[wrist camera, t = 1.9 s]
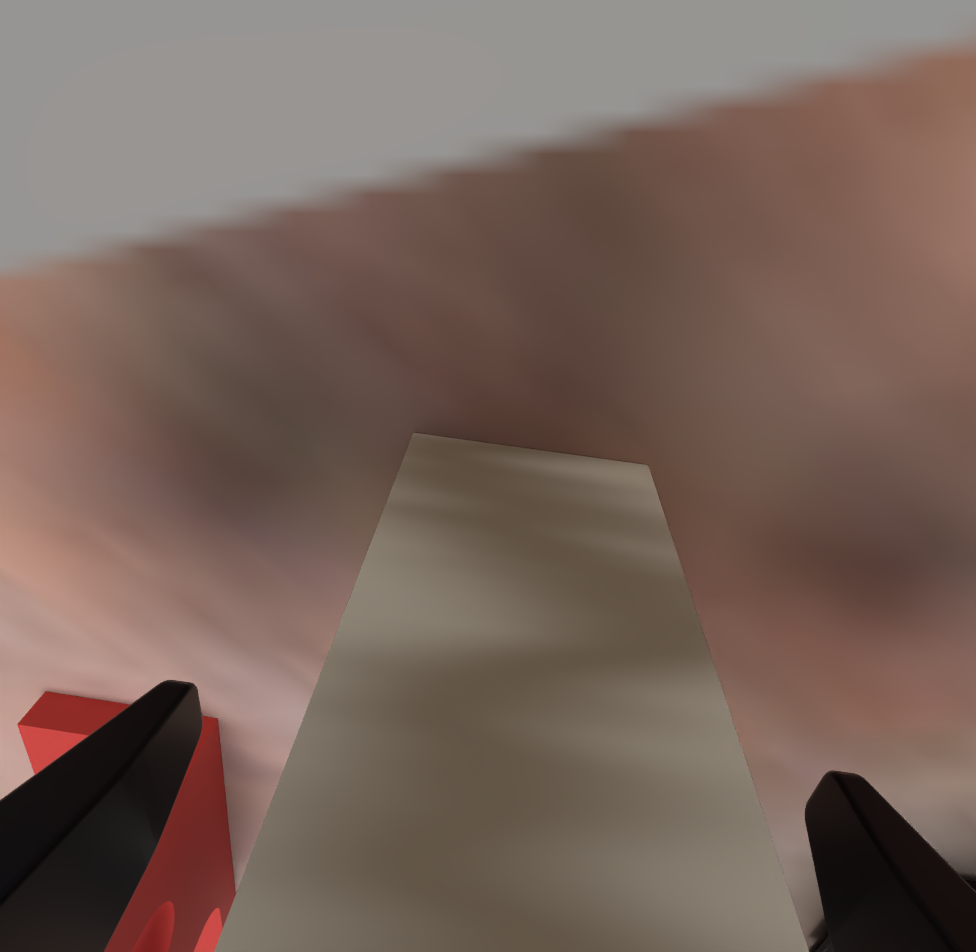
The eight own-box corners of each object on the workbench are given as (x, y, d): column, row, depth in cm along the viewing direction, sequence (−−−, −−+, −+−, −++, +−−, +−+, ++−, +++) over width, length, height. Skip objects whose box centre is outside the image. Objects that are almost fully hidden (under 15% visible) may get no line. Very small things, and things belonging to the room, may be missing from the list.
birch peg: (648, 464, 12) (962, 1419, 3) (598, 637, 14) (701, 1468, 5) (413, 432, 12) (80, 1301, 3) (400, 610, 14) (187, 1402, 5)
